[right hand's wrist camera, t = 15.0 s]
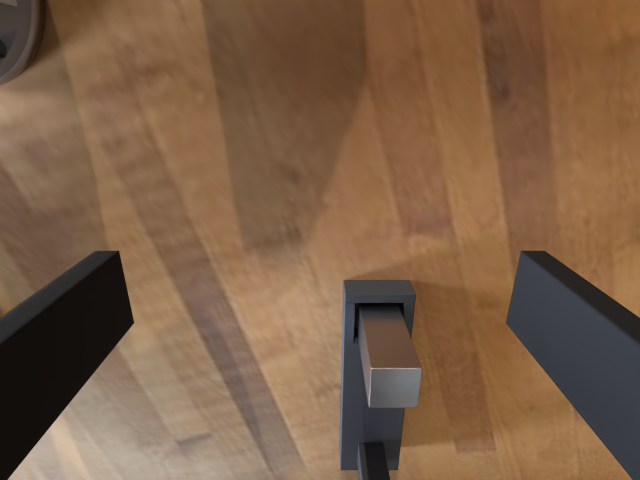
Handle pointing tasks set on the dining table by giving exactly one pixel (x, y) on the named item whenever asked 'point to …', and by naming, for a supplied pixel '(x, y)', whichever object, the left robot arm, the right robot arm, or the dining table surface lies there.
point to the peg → (387, 356)
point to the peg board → (355, 415)
